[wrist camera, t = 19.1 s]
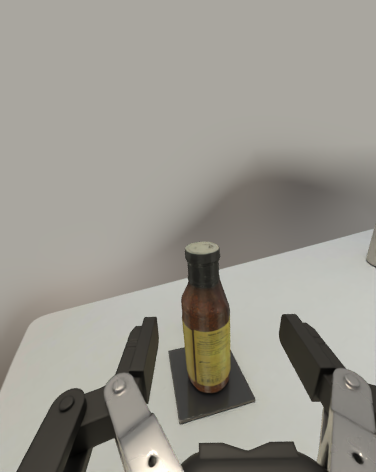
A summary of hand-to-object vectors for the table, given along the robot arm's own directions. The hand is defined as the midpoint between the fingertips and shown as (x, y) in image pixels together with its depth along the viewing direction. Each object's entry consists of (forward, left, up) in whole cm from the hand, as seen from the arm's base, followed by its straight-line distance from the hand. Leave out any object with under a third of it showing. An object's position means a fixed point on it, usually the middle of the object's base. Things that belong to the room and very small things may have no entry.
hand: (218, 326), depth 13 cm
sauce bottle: (0, +11, -19) cm, 22 cm away
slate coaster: (0, +11, -19) cm, 22 cm away
